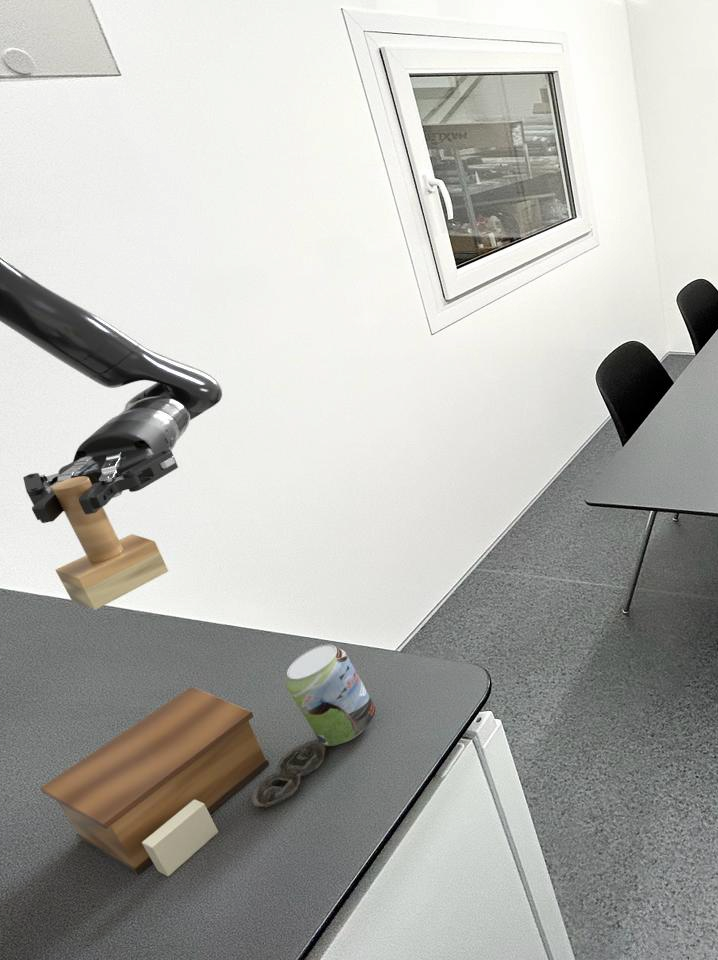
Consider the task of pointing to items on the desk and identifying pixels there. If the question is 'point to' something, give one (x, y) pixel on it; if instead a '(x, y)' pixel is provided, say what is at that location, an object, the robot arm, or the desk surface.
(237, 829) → the desk surface
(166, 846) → the cream soap bar
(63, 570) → the wooden stamp
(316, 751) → the corroded twin loop
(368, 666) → the desk surface
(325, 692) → the beverage can
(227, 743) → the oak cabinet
